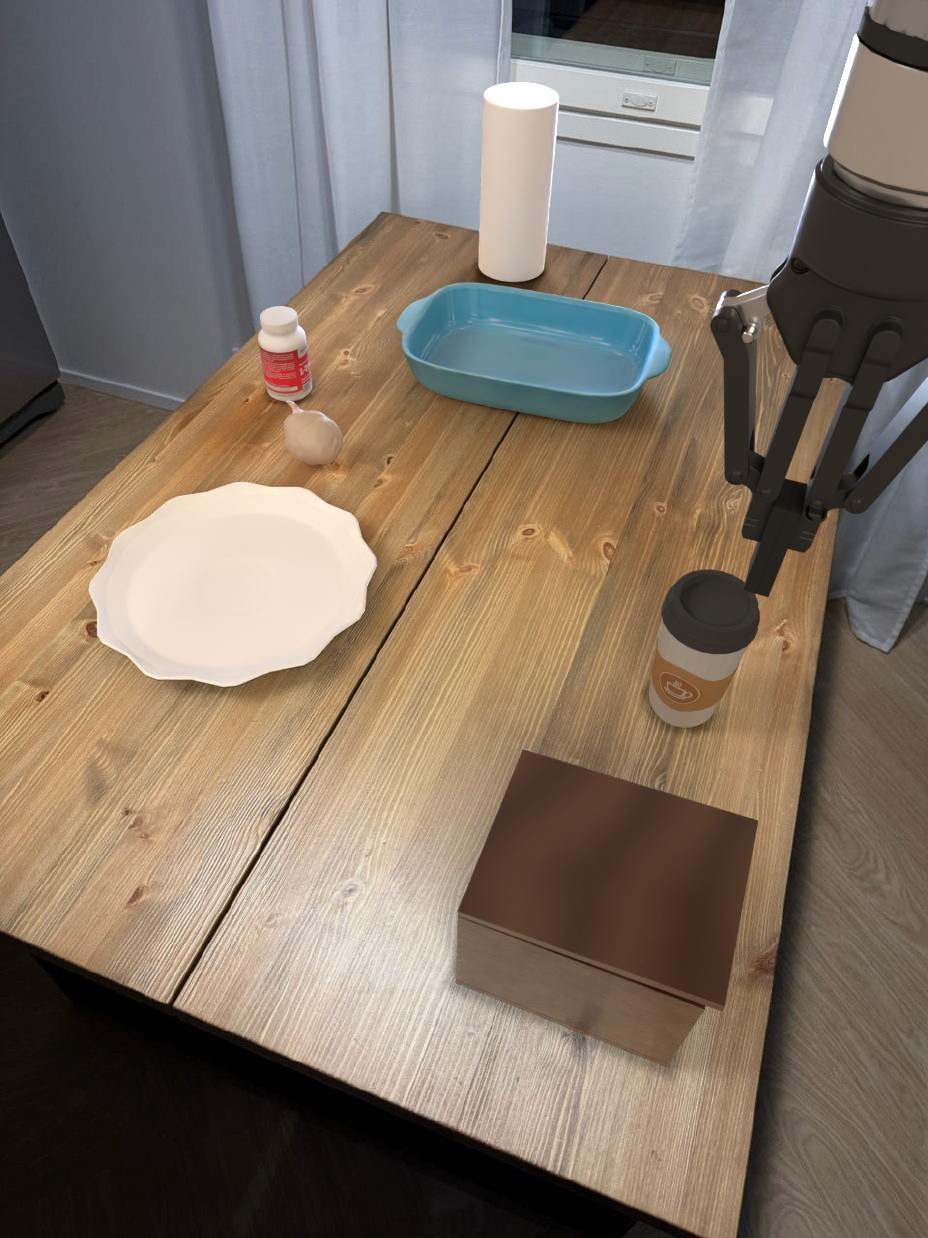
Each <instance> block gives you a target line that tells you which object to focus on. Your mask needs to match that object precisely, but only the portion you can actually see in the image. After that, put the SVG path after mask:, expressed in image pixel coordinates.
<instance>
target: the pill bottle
mask: <svg viewBox="0 0 928 1238" xmlns="http://www.w3.org/2000/svg"><path fill="white" fill-rule="evenodd" d="M259 321H260V327H261V329H260V330H259V332H258V335H257V343H258V348H259V349H258V350H259V354H260V360H261V366H262V372H263V377H264V382H265V388H266V392H267V394H268V395H269V396H270V397H271V398H272V399H274V400H277V401H280V402H288V401H287V400H290V401H293V402H295V401H299V400H302V399H304V398H306V397H307V396H308V395H309V394H310V393H311V391H312V389H313V379H312V372H311V371H312V370H311V365H310V364H311V363H310V357H309V348H308V342H307V335H306V332H305V330H304V329H303V327H301V325H299V317H298V313H297V311H296V310H295V309H293V308H292V307H290V306H283V305H277V306H271V307H268V308H265V309H264V310H263V311H261V313H260V315H259Z"/></svg>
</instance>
